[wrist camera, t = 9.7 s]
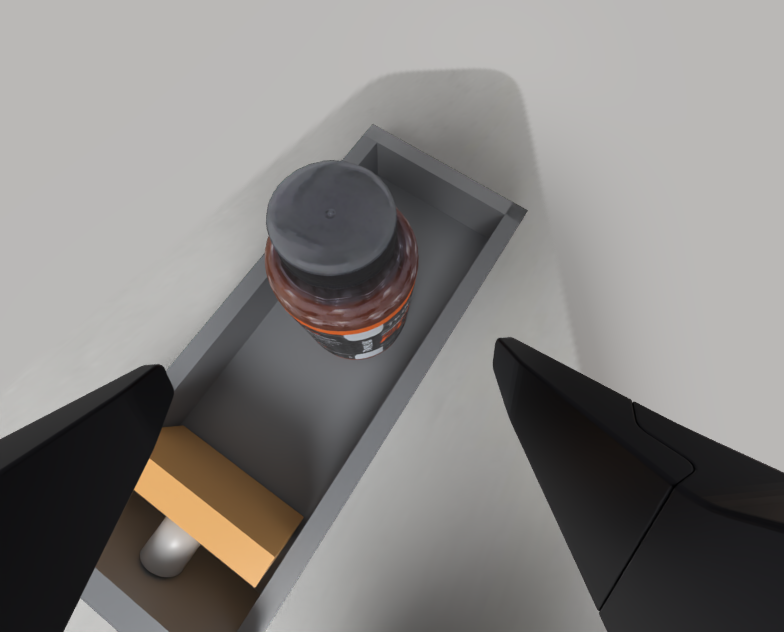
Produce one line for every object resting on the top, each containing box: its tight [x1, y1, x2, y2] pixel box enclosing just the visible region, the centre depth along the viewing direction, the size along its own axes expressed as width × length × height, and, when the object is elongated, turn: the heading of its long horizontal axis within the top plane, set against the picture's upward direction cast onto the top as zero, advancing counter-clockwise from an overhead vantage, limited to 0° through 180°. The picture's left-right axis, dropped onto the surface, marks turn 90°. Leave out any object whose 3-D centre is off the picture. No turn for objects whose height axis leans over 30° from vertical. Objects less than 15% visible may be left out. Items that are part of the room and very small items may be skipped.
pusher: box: [134, 425, 304, 588], centre depth 15 cm, size 4×8×5 cm, turn 57°
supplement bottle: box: [265, 160, 419, 360], centre depth 16 cm, size 6×6×11 cm
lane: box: [80, 124, 528, 632], centre depth 18 cm, size 26×11×6 cm, turn 147°
